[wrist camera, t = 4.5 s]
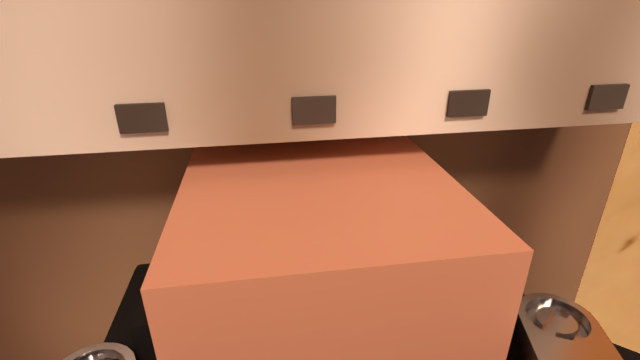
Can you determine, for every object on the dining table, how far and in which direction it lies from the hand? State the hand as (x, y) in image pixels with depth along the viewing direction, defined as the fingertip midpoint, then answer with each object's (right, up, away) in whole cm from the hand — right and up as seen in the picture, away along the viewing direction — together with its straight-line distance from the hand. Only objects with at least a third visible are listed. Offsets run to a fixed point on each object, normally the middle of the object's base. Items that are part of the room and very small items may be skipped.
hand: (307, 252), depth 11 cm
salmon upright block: (0, 0, 0) cm, 0 cm away
